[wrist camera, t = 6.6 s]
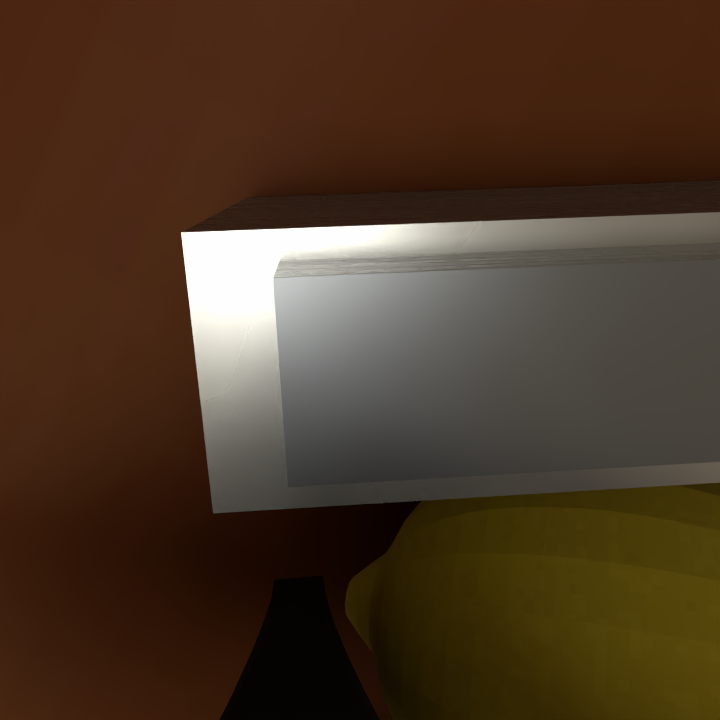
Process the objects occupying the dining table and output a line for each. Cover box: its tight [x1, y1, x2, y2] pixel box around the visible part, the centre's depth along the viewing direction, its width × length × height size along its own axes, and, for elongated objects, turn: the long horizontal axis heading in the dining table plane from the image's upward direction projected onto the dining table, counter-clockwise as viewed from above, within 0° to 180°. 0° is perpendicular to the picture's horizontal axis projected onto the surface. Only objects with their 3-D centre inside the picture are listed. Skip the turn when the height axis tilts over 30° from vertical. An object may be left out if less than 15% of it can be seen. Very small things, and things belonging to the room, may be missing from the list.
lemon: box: [345, 483, 720, 720], centre depth 9 cm, size 6×6×8 cm
